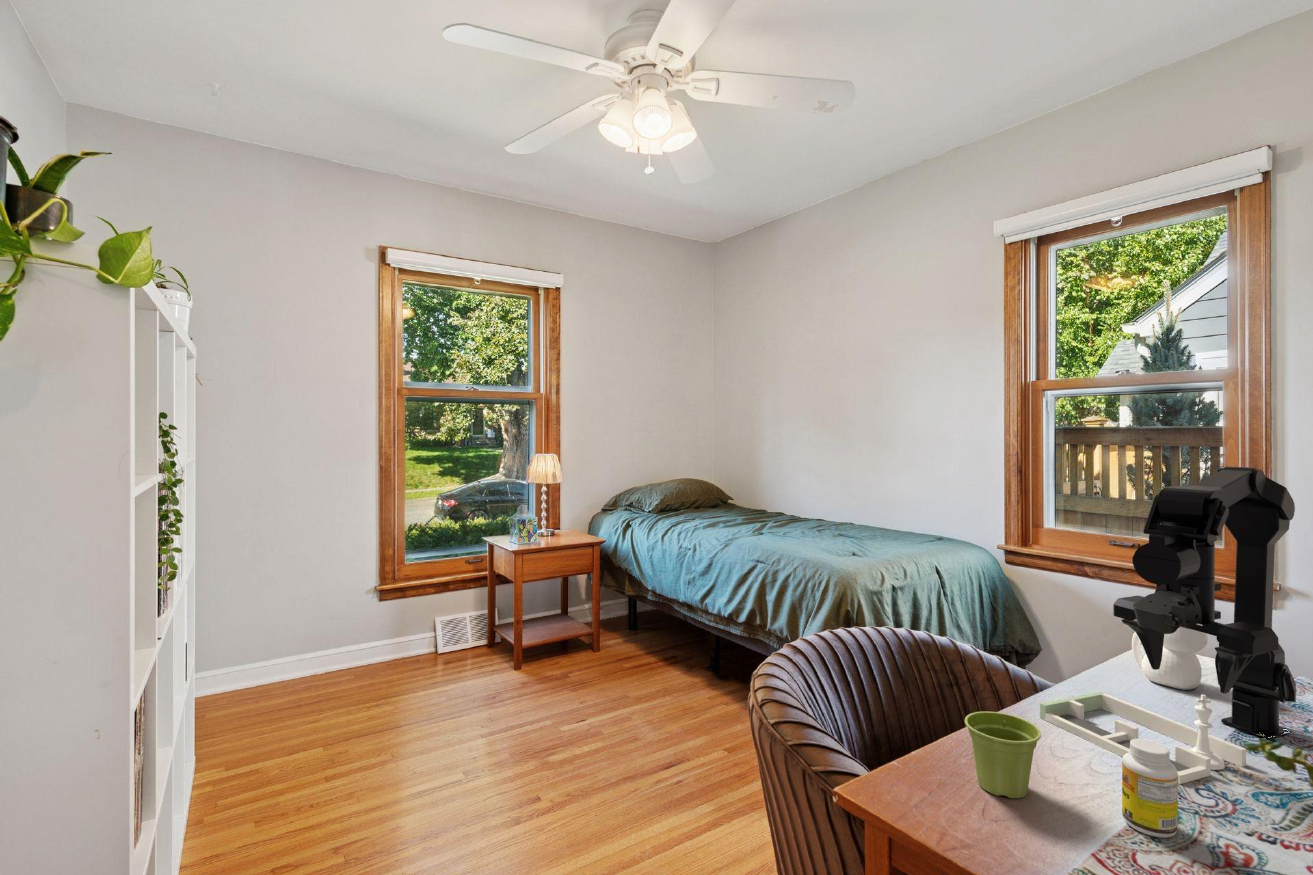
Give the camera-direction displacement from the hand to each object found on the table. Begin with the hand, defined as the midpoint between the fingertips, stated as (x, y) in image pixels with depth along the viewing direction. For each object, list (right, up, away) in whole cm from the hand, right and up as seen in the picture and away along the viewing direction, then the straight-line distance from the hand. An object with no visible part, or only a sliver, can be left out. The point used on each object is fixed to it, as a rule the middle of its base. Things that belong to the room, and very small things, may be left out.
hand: (1188, 680), depth 94 cm
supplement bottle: (-16, -14, -13) cm, 25 cm away
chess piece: (+4, -13, +2) cm, 14 cm away
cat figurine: (+22, -13, +32) cm, 41 cm away
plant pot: (-30, -14, -4) cm, 33 cm away
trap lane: (-1, -13, +9) cm, 16 cm away
